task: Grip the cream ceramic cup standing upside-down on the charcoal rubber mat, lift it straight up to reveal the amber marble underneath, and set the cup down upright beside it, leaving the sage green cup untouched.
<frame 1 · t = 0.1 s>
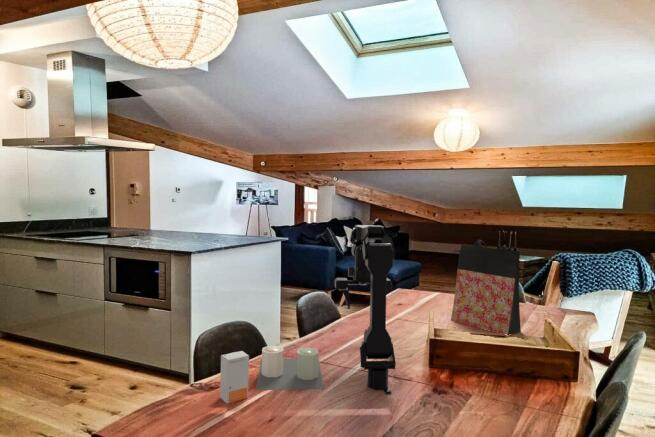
hand: (362, 308, 151), 15 cm above the table, tool pointing down, fingers open, 9 cm apart
sage cup: (307, 375, 129), point 1 cm above the table, touching mat
mat: (289, 376, 131), on the table
amber marble: (272, 367, 130), point 2 cm above the table, touching mat
skincare box: (234, 401, 115), on the table
gift bag: (481, 325, 187), on the table
cream cup: (272, 372, 130), point 1 cm above the table, touching mat
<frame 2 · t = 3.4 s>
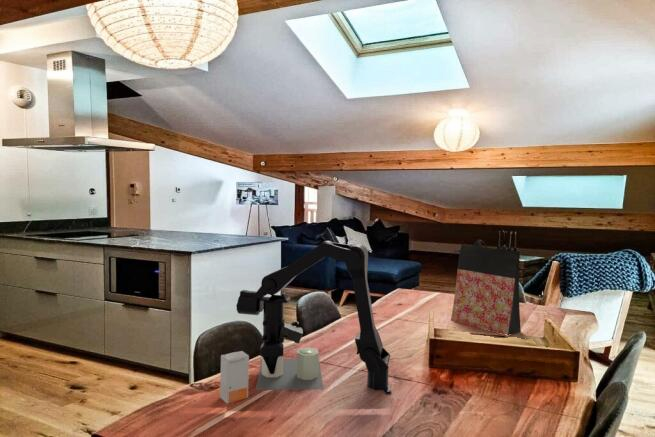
hand: (272, 369, 130), 2 cm above the table, tool pointing down, fingers closed on cream cup, 6 cm apart
cream cup: (272, 372, 130), point 1 cm above the table, touching gripper, mat
everything else where it was.
when the fingers open (3 cm above the table, at t = 8.8 s): cream cup drops 1 cm, resting on mat.
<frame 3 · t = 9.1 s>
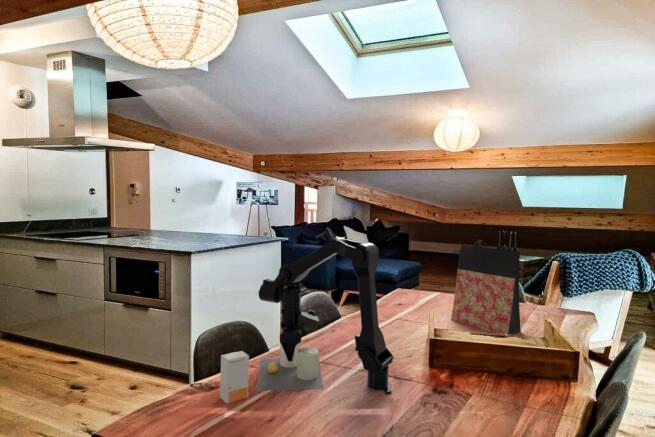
hand: (290, 355, 137), 3 cm above the table, tool pointing down, fingers open, 9 cm apart
cream cup: (290, 363, 138), point 1 cm above the table, touching mat
everything else where it was.
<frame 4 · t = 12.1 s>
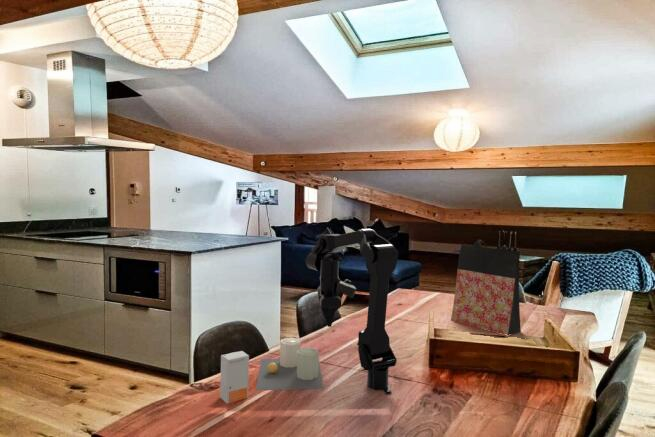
hand: (328, 322, 144), 12 cm above the table, tool pointing down, fingers open, 9 cm apart
nothing on the table moved.
at the end: cream cup 0.0 cm from the target spot on the mat, point 1.0 cm above the mat's base; cream cup tilted 0°; sage cup moved 0.0 cm from its start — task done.
